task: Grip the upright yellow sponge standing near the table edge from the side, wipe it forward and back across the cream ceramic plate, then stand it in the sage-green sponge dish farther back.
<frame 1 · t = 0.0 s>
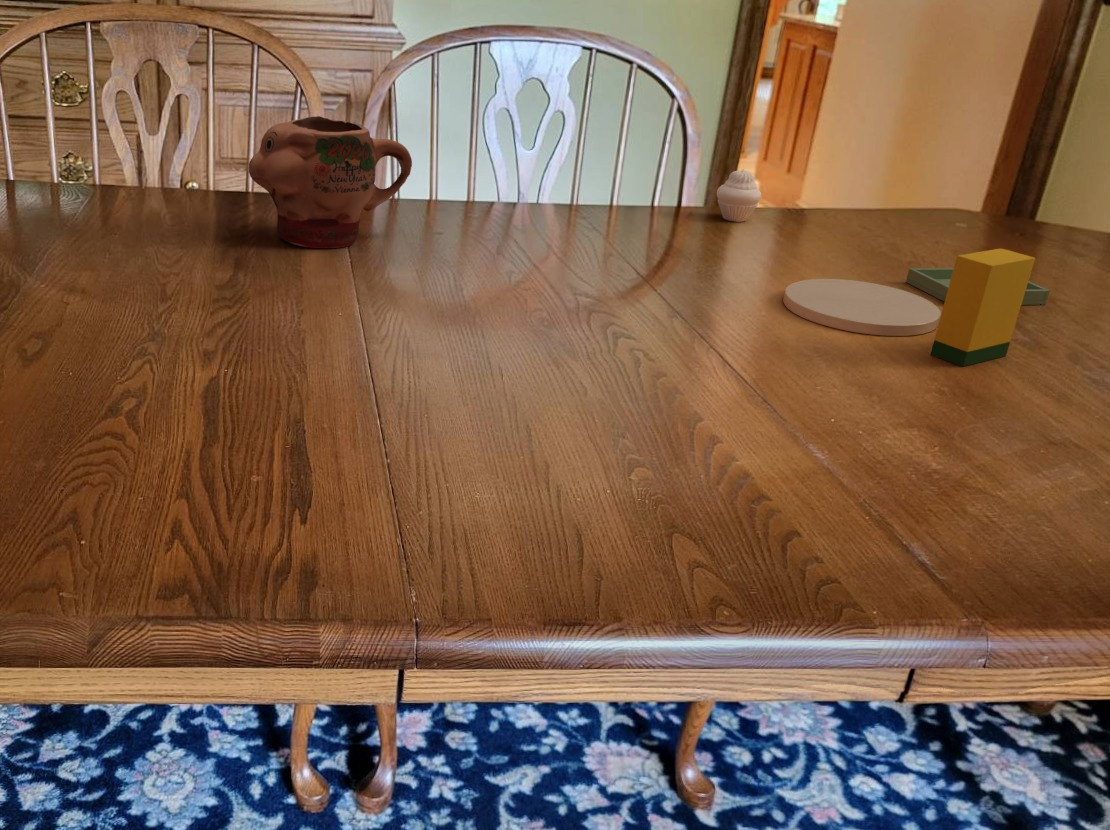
dish: (974, 293, 128), on the table
sponge: (968, 355, 109), on the table
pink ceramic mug: (330, 240, 136), on the table
muffin: (734, 220, 156), on the table
plate: (859, 311, 120), on the table
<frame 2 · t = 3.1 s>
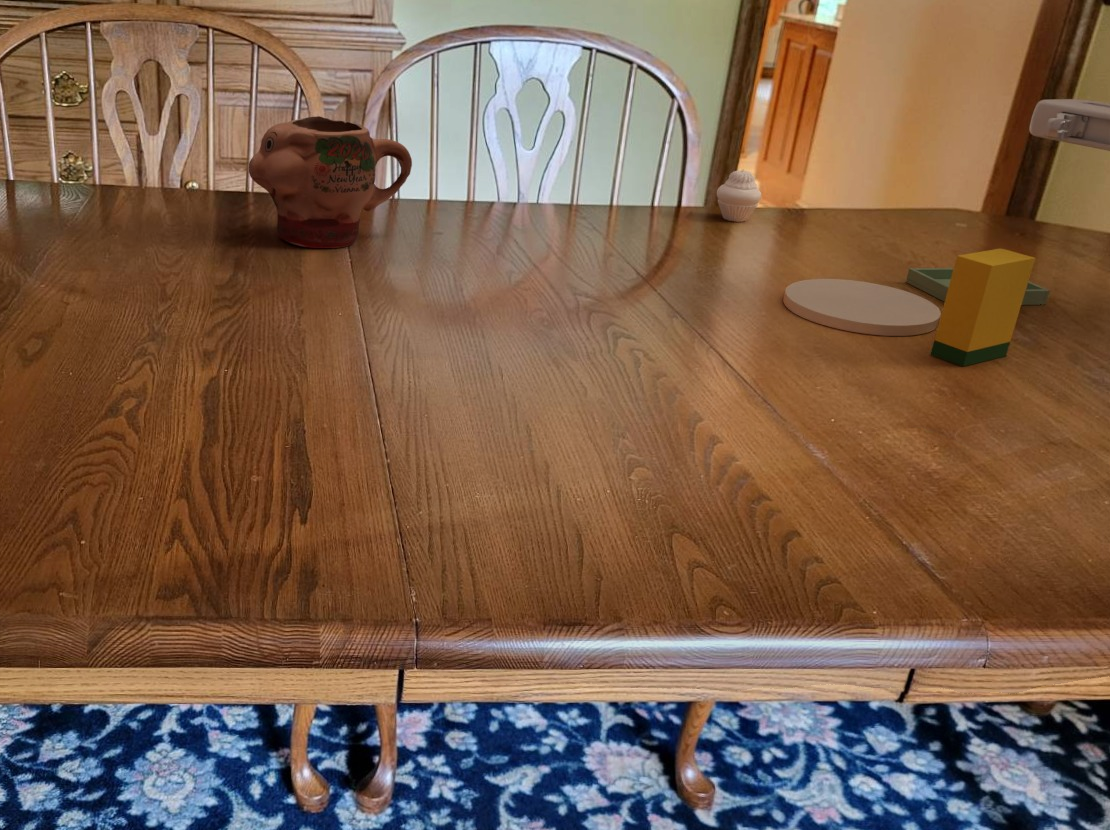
hand: (1099, 138, 105), 20 cm above the table, tool horizontal, fingers open, 8 cm apart
nothing on the table moved.
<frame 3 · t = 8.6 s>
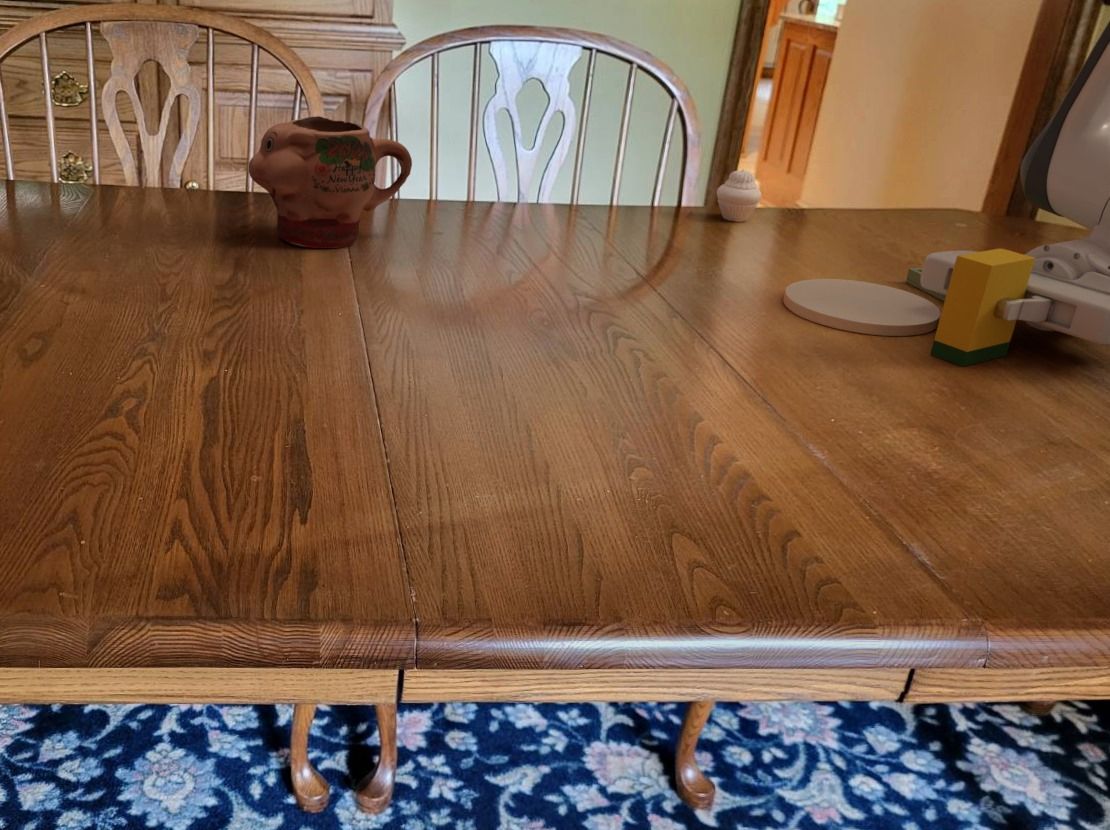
hand: (978, 303, 106), 6 cm above the table, tool horizontal, fingers closed on sponge, 3 cm apart
sponge: (967, 355, 109), on the table, touching gripper
everything else where it was.
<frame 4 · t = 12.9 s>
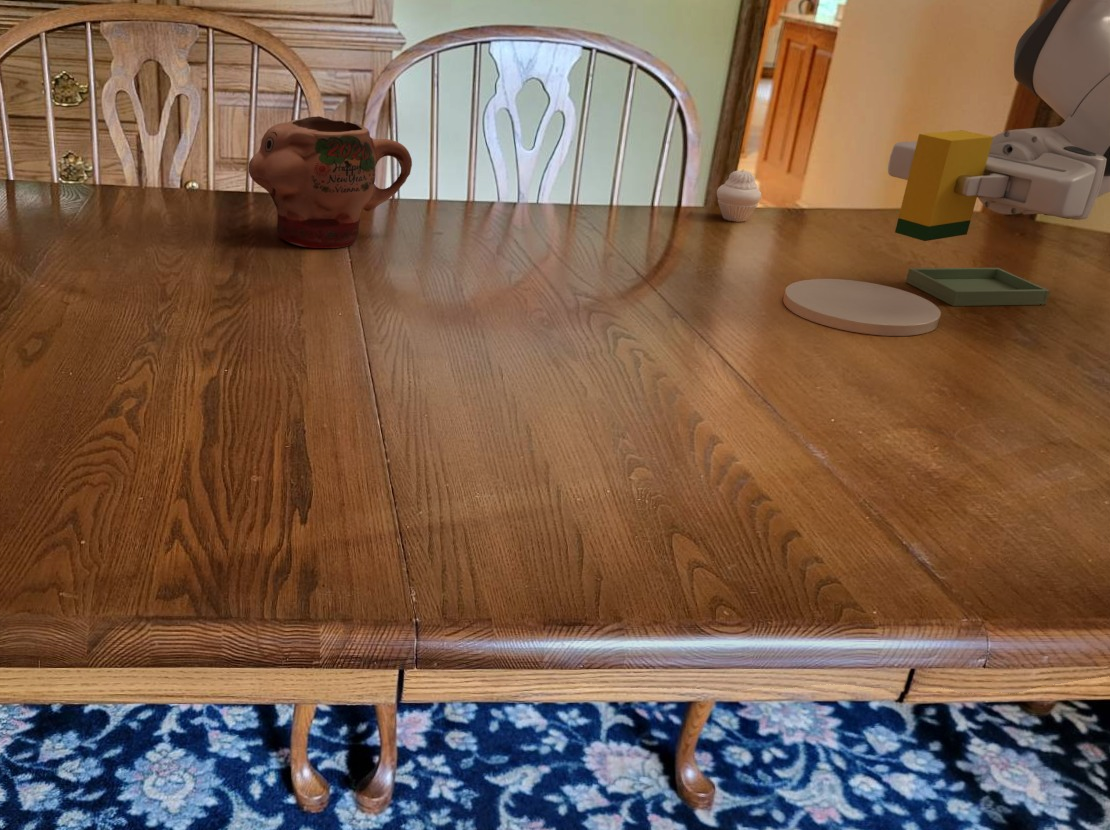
hand: (939, 181, 111), 15 cm above the table, tool horizontal, fingers closed on sponge, 3 cm apart
sponge: (930, 233, 114), point 9 cm above the table, touching gripper
everything else where it was.
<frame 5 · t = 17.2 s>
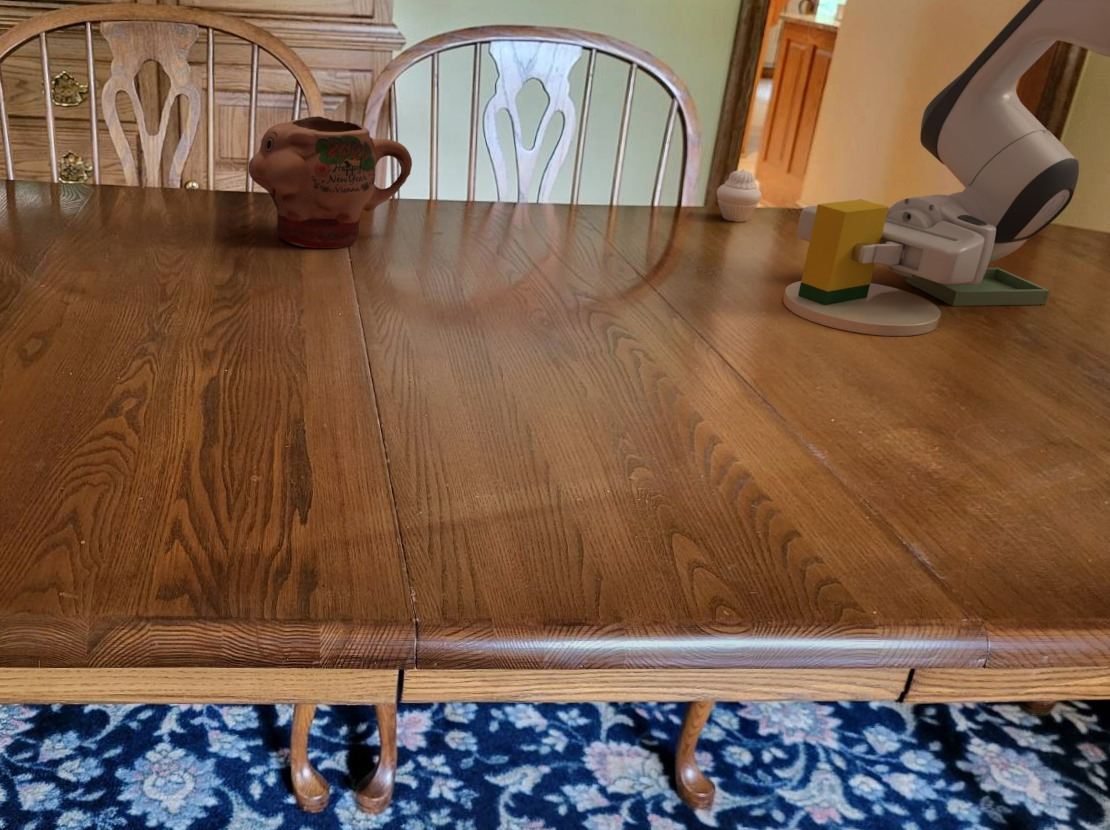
hand: (838, 248, 117), 7 cm above the table, tool horizontal, fingers closed on sponge, 3 cm apart
sponge: (832, 296, 120), point 1 cm above the table, touching gripper
everything else where it was.
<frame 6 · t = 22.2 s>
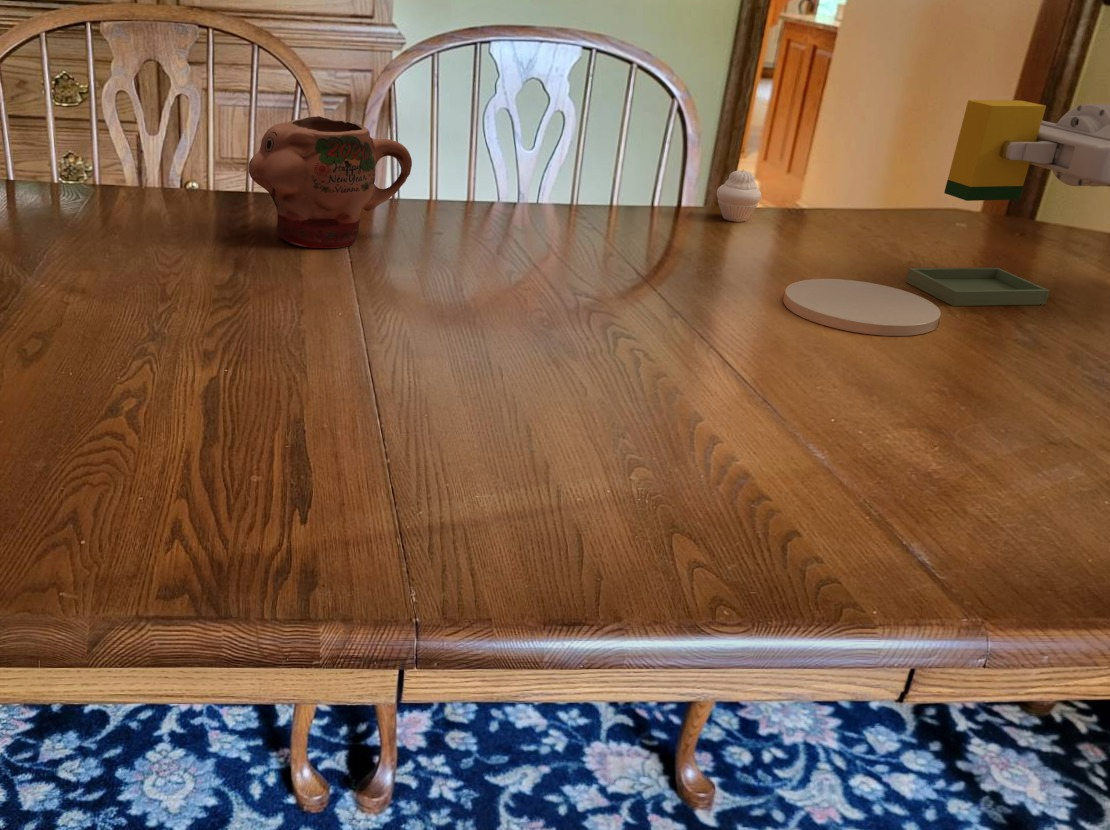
hand: (988, 145, 119), 17 cm above the table, tool horizontal, fingers closed on sponge, 3 cm apart
sponge: (981, 196, 122), point 12 cm above the table, touching gripper
everything else where it was.
when the fingers open (6 cm above the table, at t = 26.2 s): sponge stays where it is, resting on dish.
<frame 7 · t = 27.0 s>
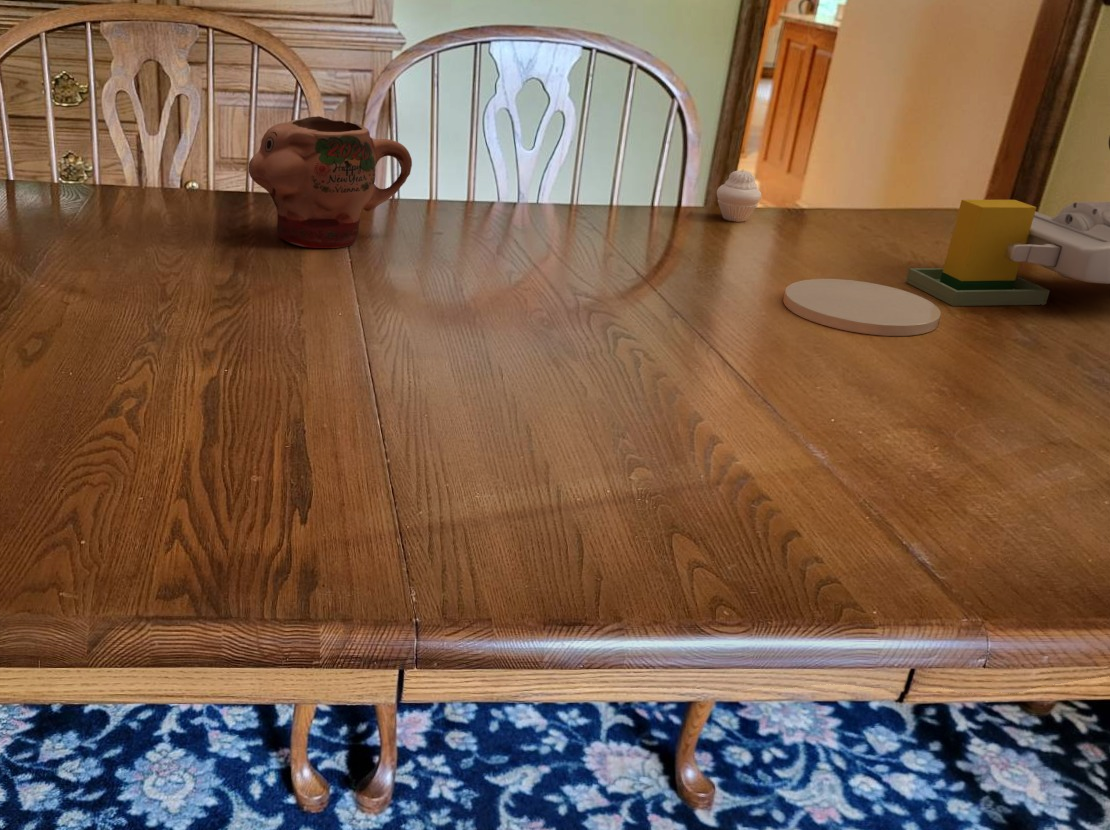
hand: (982, 240, 125), 6 cm above the table, tool horizontal, fingers open, 8 cm apart
sponge: (974, 288, 128), resting on dish
everything else where it was.
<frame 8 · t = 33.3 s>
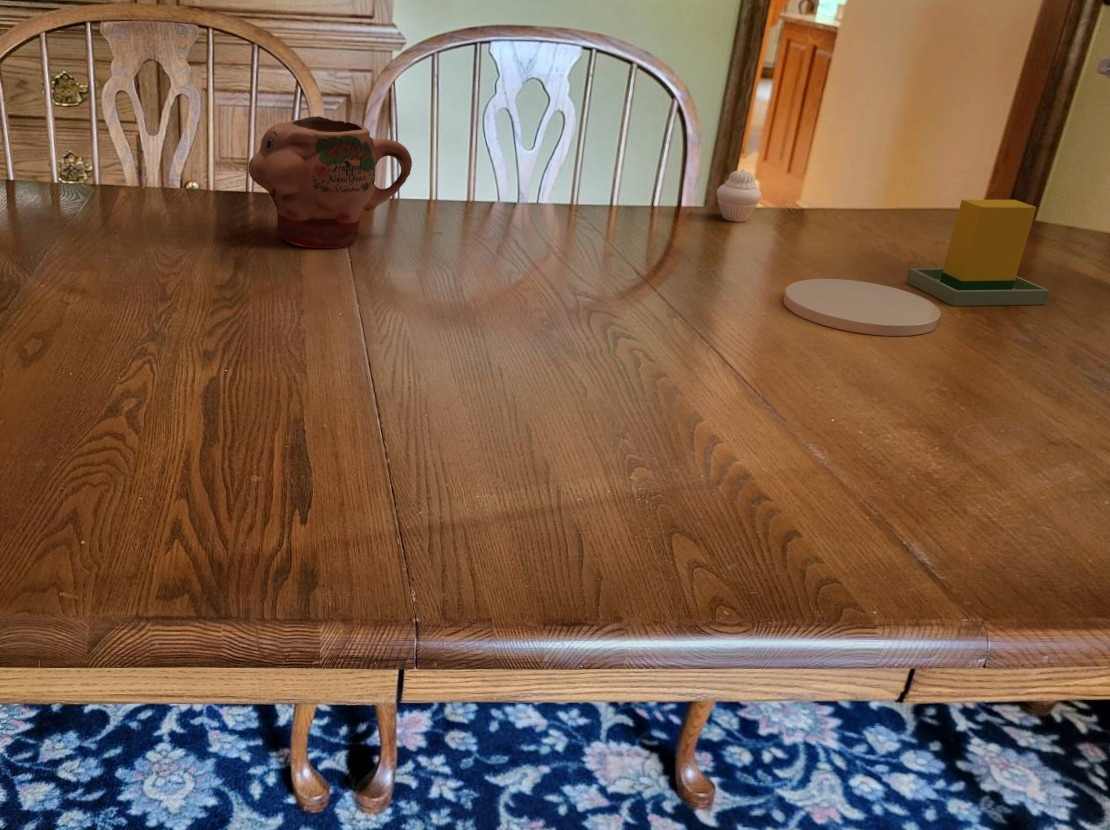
nothing on the table moved.
at the end: sponge 0.1 cm off-centre in the dish, point 0.5 cm above the dish's base; sponge tilted 0°; the gripper is holding nothing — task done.
